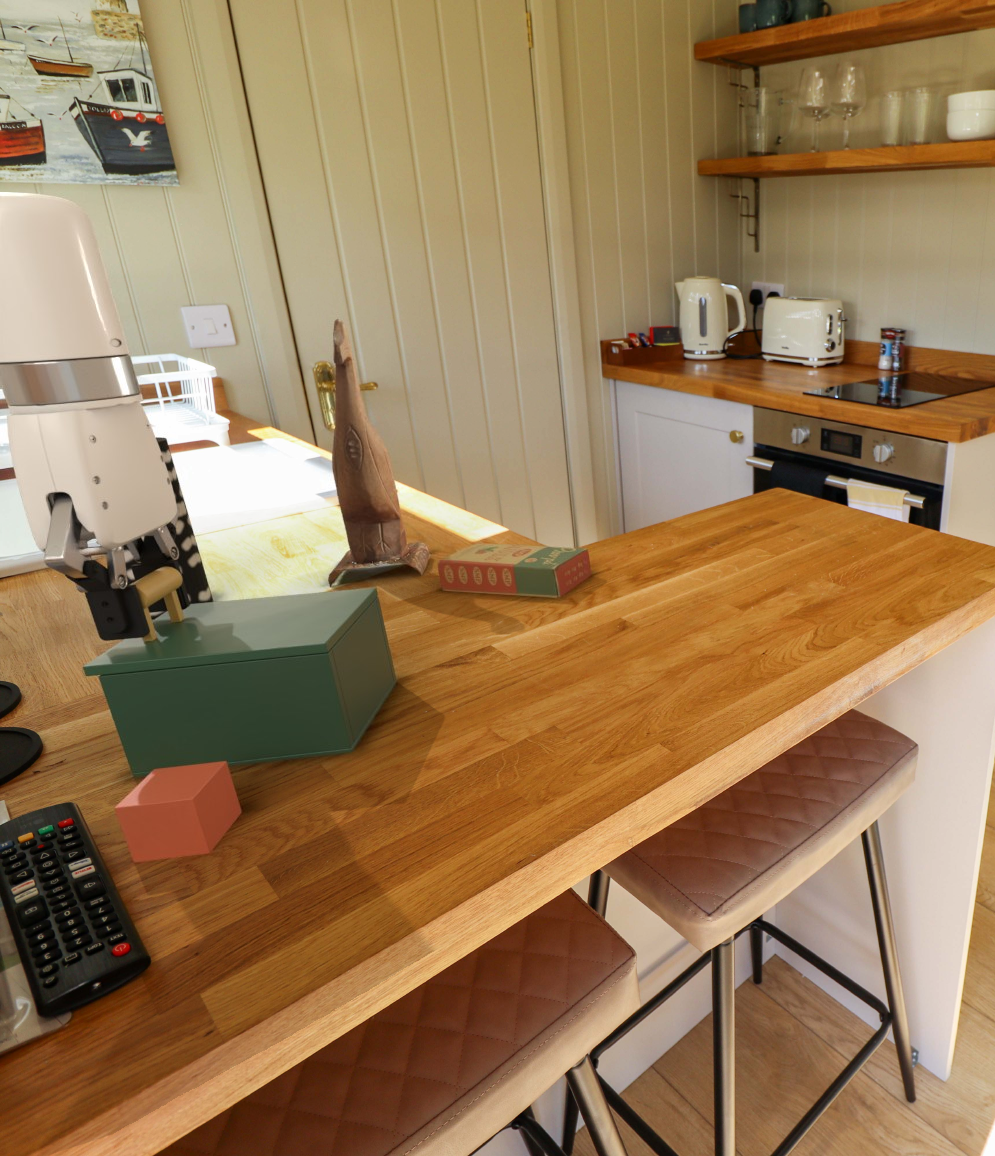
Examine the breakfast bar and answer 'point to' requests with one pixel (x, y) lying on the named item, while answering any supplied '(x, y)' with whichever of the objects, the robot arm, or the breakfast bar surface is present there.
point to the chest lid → (230, 627)
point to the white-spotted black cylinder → (179, 543)
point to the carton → (515, 570)
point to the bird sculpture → (365, 478)
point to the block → (179, 811)
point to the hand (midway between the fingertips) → (147, 621)
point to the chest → (255, 704)
